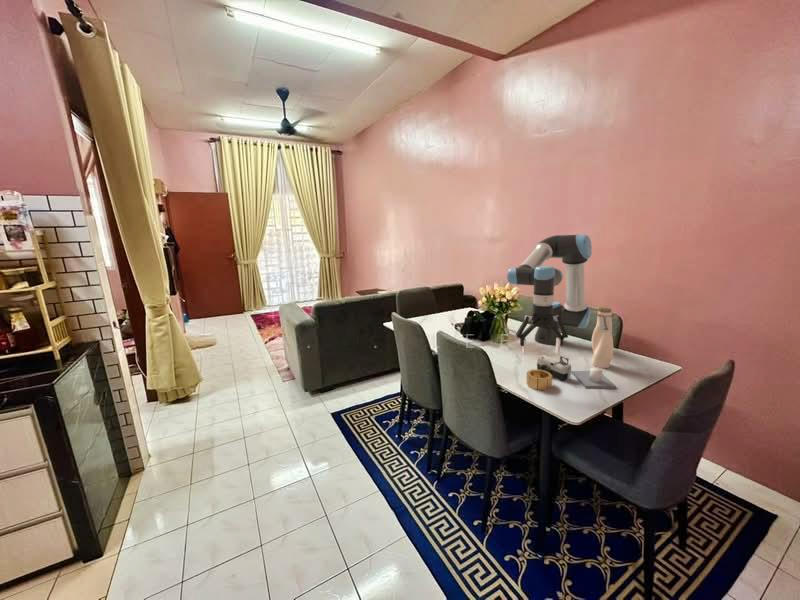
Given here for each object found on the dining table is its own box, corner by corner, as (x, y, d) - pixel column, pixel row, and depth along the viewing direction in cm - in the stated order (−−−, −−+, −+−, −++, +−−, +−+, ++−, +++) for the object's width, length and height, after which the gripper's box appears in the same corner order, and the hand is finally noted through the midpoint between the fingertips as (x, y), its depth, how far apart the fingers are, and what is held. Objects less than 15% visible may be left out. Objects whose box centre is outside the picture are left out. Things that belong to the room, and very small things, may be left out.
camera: (533, 370, 154) (534, 350, 152) (545, 367, 157) (545, 348, 155) (560, 383, 140) (562, 361, 138) (572, 379, 143) (574, 358, 141)
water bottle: (616, 370, 150) (621, 311, 145) (594, 369, 152) (599, 311, 146) (607, 361, 160) (612, 306, 154) (587, 360, 162) (591, 306, 156)
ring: (524, 379, 144) (525, 369, 143) (547, 380, 143) (547, 369, 142) (530, 390, 135) (530, 378, 134) (554, 390, 134) (555, 379, 133)
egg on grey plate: (571, 372, 149) (572, 360, 148) (598, 373, 148) (599, 360, 147) (585, 387, 135) (586, 374, 134) (616, 388, 133) (617, 374, 132)
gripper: (513, 306, 130) (511, 356, 134) (579, 305, 127) (575, 356, 131) (509, 302, 137) (508, 350, 141) (571, 302, 134) (568, 350, 138)
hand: (540, 353), depth 136 cm, fingers open, 13 cm apart
